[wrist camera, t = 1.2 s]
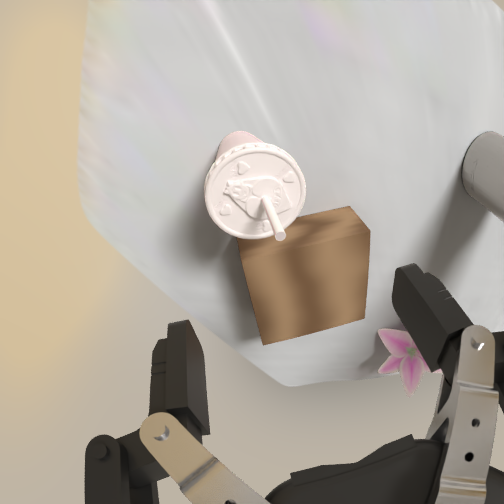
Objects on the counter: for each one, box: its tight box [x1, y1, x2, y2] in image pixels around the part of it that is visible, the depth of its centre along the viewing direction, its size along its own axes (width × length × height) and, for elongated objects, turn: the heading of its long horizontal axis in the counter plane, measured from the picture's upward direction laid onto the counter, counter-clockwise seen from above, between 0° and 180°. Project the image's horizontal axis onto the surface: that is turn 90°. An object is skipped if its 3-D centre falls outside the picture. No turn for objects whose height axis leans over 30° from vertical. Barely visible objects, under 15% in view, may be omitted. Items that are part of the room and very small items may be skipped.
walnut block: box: [237, 206, 370, 345], centre depth 34 cm, size 12×12×5 cm
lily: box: [377, 328, 443, 397], centre depth 44 cm, size 12×12×10 cm
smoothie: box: [204, 131, 306, 241], centre depth 22 cm, size 6×6×14 cm
